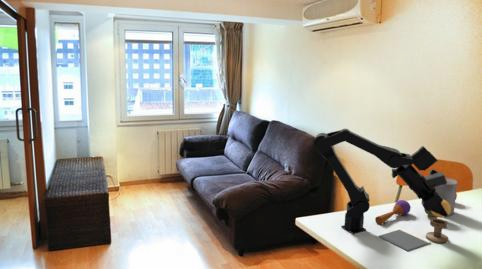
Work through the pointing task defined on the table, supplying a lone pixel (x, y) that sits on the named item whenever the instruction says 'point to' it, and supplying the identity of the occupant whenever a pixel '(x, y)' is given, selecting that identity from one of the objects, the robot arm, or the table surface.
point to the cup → (430, 214)
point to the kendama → (394, 211)
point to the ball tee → (437, 231)
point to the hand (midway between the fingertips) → (444, 212)
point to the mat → (404, 239)
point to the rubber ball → (445, 206)
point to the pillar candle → (448, 192)
